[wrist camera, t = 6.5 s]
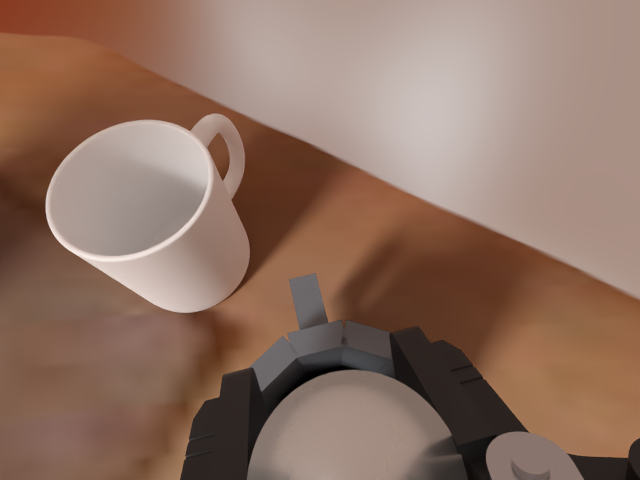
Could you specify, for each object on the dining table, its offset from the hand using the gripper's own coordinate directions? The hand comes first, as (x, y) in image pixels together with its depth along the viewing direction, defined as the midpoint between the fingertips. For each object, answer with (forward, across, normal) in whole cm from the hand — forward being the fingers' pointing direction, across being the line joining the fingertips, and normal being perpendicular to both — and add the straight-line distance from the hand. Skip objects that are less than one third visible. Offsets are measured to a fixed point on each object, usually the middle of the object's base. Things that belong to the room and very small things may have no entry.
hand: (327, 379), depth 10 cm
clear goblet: (+5, 0, +8) cm, 9 cm away
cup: (+20, +6, +2) cm, 21 cm away
